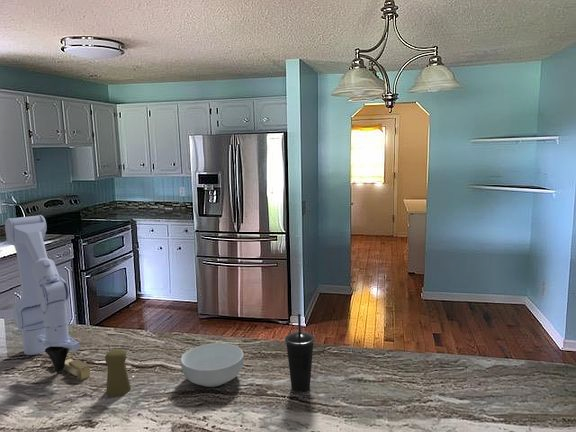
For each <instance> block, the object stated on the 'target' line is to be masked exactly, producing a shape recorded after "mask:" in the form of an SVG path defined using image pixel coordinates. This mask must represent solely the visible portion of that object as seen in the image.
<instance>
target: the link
mask: <svg viewBox="0 0 576 432" xmlns="http://www.w3.org/2000/svg"><path fill="white" fill-rule="evenodd" d="M73 358H74V356H73V355H72V354H69V353H67V356H66V360H65V365H64V369H63V370H64V371H66V372H68V373H70V374H72V375H74V376H76V377H78V372H77V369H75V368H74V367H72V366H70V365H69V362H71V361H74V360H75V359H73ZM50 361H51V367H53V368H55V367H54V364H53V362H52V360H51V359H50Z"/></svg>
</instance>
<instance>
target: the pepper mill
mask: <svg viewBox="0 0 576 432" xmlns="http://www.w3.org/2000/svg"><path fill="white" fill-rule="evenodd" d="M104 360H105V364H106V365H107V377H106V378H107V379H106V395H107V396H108V397H111V398H116V397H121V396H124V395H127V394H128V393H130V392H131V390H132V388H131V387H132V386H131V382H130V379H129V374H128V370H127V366H126V360H127V352H126V351H125V350H124V349H121V348H116V349H112V350H109V351H107V353H106V354H105V356H104Z"/></svg>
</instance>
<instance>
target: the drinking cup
mask: <svg viewBox="0 0 576 432" xmlns="http://www.w3.org/2000/svg"><path fill="white" fill-rule="evenodd" d="M301 318H302V315H301V313H298V314H297V329H298V330H297V331H294V332H292V333H291V332H290V333H289V334H287V335H285V338H284V342H285V344H286V350H287V351H286V352H287V353H286V354H287V361H288V368H289V375H290V376H289V377H290V385H291V389H292V391H293V392H296V393H304V392H307V391H309V390H310V388H311V376H312V364H313V354H314V353H313V352H314V351H313V350H314V343H315V339H316V338H315V336H314V335H313V334H311V333H308V332H305V331H302V319H301Z"/></svg>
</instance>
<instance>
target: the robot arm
mask: <svg viewBox="0 0 576 432" xmlns="http://www.w3.org/2000/svg"><path fill="white" fill-rule="evenodd" d="M4 228H5V231H4V232H5V236H6V238H5V239H6V241H7V244H8V245H11V246H14V249H15V252H16V258H17V267H18V274H19V280H20V288H21V294H22V296H21V297H20V298H19V299H18V300H17V301H16V302H14V304H13V306H12V307H13V308H12V309H13V314H12V316H13V323H14V325H15V327H16V328H17V329H18V330H21V339H22V348H23V353H24V355H26V356H35V355H39V354H42V353H46V354H47V355H48V357H49V358H50V361H51V360H52V362H53V364H54V367H53V368H54V369H55V371H56V372H61V370H64V365H65V360H66V356H67V354H69V351H70V350H71V352H75V351H78V350H79V349H81V347H80V346H81V345H80V343H81V342H80V341H77V340H75V339H74V338H73V337H71V336H70V335H69V323H68V312H67V310H68V309H67V302H66V301H67V300H68V299H69V295H70V294H69V287H68V284H67V282H66V280H65V279H63V277H62V276H60V273H59V271H58V269H57V266H56V264H55V261H54V260H53V259H51V258H48V253H47V250H46V246H45V242H44V239H45V238H46V233H47V230H48V229H47V221H46V218H45V217H44V216H43V215H42V214H38V215H32V216H31V215H30V216H21V217H20V216H19V217H12V218H11V217H8V218H6V220H5V221H4Z"/></svg>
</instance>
